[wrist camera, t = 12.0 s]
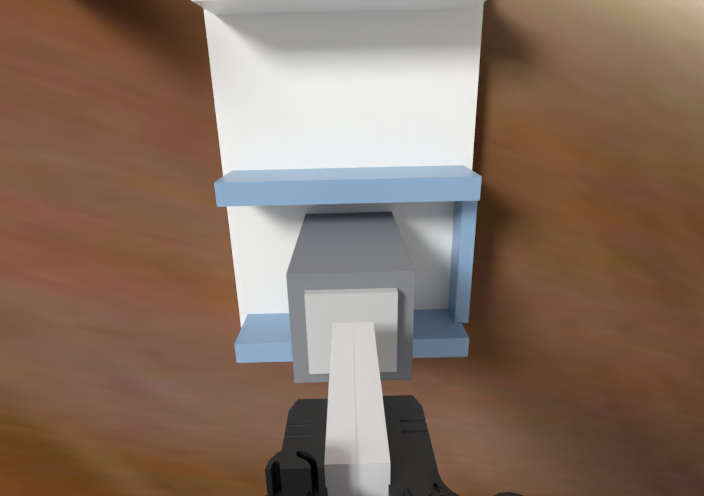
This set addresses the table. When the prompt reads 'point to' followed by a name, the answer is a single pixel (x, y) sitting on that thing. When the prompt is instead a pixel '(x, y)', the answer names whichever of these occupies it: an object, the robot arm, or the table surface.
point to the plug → (350, 291)
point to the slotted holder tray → (347, 146)
